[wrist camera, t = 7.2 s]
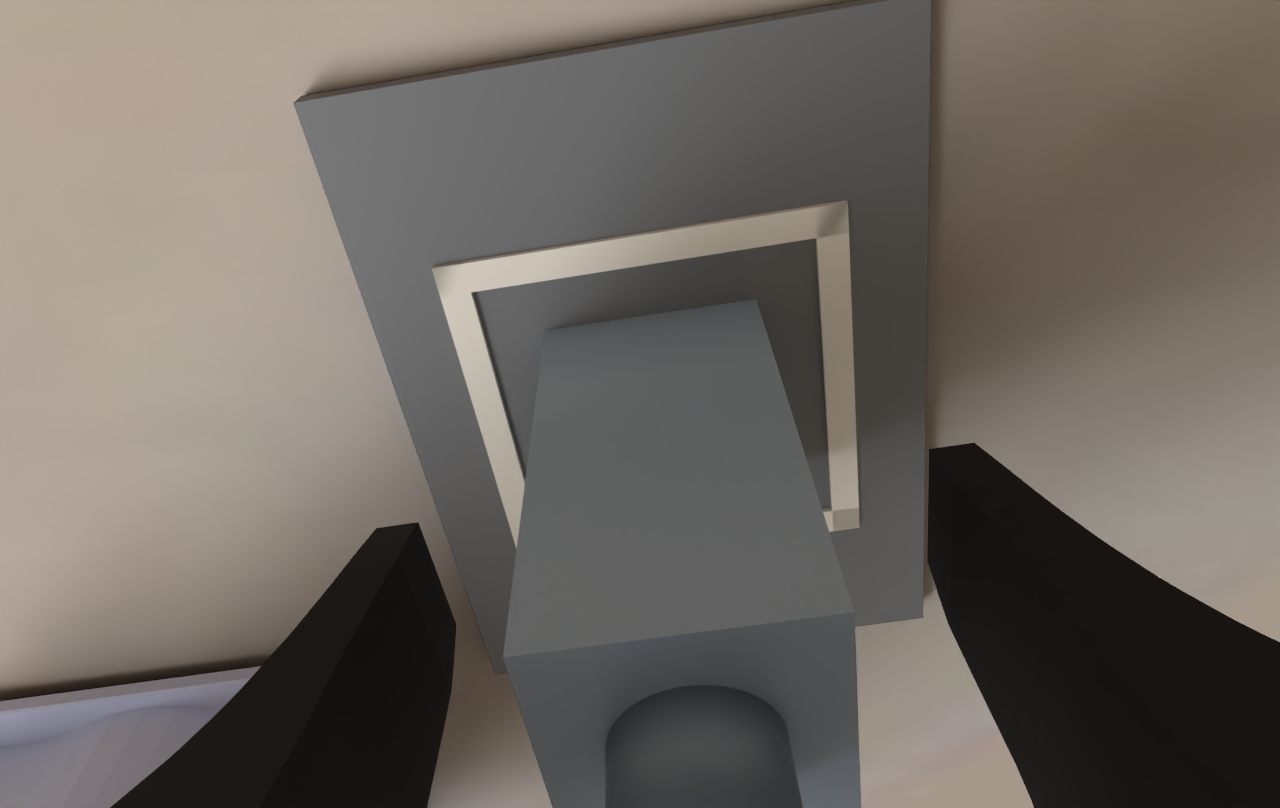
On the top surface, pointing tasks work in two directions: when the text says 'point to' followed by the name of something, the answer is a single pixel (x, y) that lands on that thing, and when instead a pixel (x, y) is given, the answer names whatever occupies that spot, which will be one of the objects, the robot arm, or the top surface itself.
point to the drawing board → (654, 252)
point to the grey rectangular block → (678, 577)
